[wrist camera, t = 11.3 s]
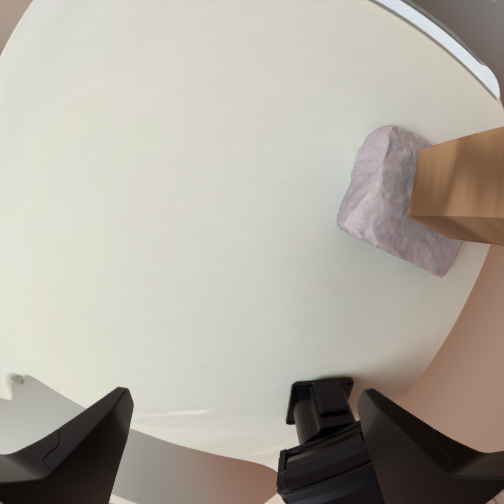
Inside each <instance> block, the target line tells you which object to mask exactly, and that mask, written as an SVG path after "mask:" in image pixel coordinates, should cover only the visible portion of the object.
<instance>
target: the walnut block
mask: <svg viewBox="0 0 504 504" xmlns="http://www.w3.org/2000/svg"><path fill="white" fill-rule="evenodd" d="M406 216H408V217H410V218H412V219H414V220H416V221H418V222H420V223H422V224H424V225H426V226H428V227H429V228H431V229H433V230H435V231H437V232H438V233H440V234H442V235H444V236H446V237H447V238H449V239H456V240H464V241H472V242H480V243H488V244H495V245H502V246H504V127H500V128H496V129H492V130H488V131H484V132H481V133H477V134H473V135H469V136H466V137H462V138H458V139H455V140H451V141H448V142H444V143H441V144H437V145H434V146H431V147H427V148H424V149H421V150H418V157H417V163H416V170H415V176H414V181H413V187H412V192H411V197H410V201H409V206H408V211H407V215H406Z"/></svg>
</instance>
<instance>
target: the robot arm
mask: <svg viewBox="0 0 504 504" xmlns="http://www.w3.org/2000/svg"><path fill="white" fill-rule="evenodd" d="M348 382H349V383H348ZM353 383H354V381H353V379H352V378H343V379H334V380H324V381H312V382H298V383H294V384H292V386H291V391H290V398H289V404H288V410H287V416H286V424H288V425H293V424H296V429H297V434H298V439H299V444H300V445H299V446H296V447H293V448H290V449H287V450H286V449H285V450H282V451H280V458H279V465H278V476H277V488H278V489H277V492H278V494H279V495H281V497H282V499H283V500H284V502H285V503H286V504H504V451H500V452H493V453H483V452H479V451H477V450H474V449H472V448H470V447H468V446H466V445H463V444H461V443H459V442H457V441H455V440H453V439H451V438H449V437H447V436H445V435H444V434H442V433H440V432H439V431H437V430H436V429H433V428H432V427H431V426H429V425H427V424H426V423H425V422H423V421H421V420H420V419H418V418H417V417H415V416H414V415H412V414H411V413H409V412H408V411H406V410H405V409H403V408H402V407H400V406H399V405H397V404H396V403H394V402H393V401H391V400H390V399H388V398H387V397H385V396H384V395H382V394H381V393H380V392H378V391H377V390H375V389H373V388H369V389H364V390H363V391H362V393H361V396H360V398H359V401H358V404H357V408H358V413H359V417H360V420H359V421H357V422H356V420H355V418H354V415H353V413H352V411H351V408H350V405H349V403H348V399H349V396H350V393H351V390H352V387H353ZM296 387H297V388H296ZM133 407H134V403H133V400H132V397H131V394H130V391H129V389H128V388H124V387H117V388H116V389H114V390H113V391H112V392H110V393H109V394H107V395H106V396H105V397H103V398H102V399H100V400H99V401H97V402H96V403H95V404H93V405H92V406H90V407H89V408H87V409H86V410H85V411H83V412H82V413H80V414H79V415H77V416H76V417H74V418H73V419H72V420H70V421H69V422H67V423H66V424H64V425H63V426H62V427H60V428H59V429H57V430H55V431H54V432H52V433H51V434H49V435H47V436H46V437H44V438H43V439H41V440H39V441H37V442H35V443H33V444H31V445H29V446H27V447H25V448H23V449H21V450H19V451H17V452H14V453H11V454H6V455H1V454H0V504H108V503H109V500H110V496H111V492H112V489H113V485H114V482H115V478H116V474H117V471H118V468H119V464H120V461H121V458H122V454H123V451H124V448H125V445H126V442H127V438H128V433H129V428H130V423H131V418H132V413H133Z"/></svg>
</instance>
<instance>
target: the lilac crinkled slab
mask: <svg viewBox="0 0 504 504" xmlns="http://www.w3.org/2000/svg"><path fill="white" fill-rule="evenodd" d="M427 147H431V145H430V144H429V143H428V142H427V141H426V140H424V139H422V138H421V137H418V136H415V135H412V133H411V132H407V131H405V130H403V129H401V128H399V127H397V126H394V125H393V126H391V125H390V126H384V127H381V128H379V129H377V130H375V131H373V132H372V133H371V134H369V135H368V136H367V138H366V139H365V141H364V143H363V145H362V147H361V148H360V149H359V150H358V153H357V155H356V157H355V163H354V168H353V171H352V173H351V184H350V186H349V188H348V190H347V192H346V195H345V196H344V198H343V201H342V204H341V207H340V211H339V214H338V219H337V223H338V226H339V227H340V228H341V229H343V230H345V231H346V232H348V233H349V234H351V235H353V236H355V237H357V238H359V239H361V240H363V241H365V242H368V243H370V244H372V245H374V246H376V247H378V248H380V249H382V250H385V251H387V252H389V253H391V254H393V255H395V256H398V257H400V258H402V259H404V260H407V261H409V262H411V263H413V264H415V265H417V266H419V267H421V268H423V269H425V270H427V271H429V272H430V273H432V274H434V275H436V276H438V277H440V278H441V277H443V276H444V275H445V274H446V272H447V271H448V269H449V268H450V267H451V265H452V263H453V260H454V259H455V257H456V254H457V251H458V249H459V247H460V245H461V243H462V240H456V239H449V238H447V237H446V236H444V235H442V234H440V233H438V232H437V231H435V230H433V229H431V228H429V227H428V226H426V225H424V224H422V223H420V222H418V221H416V220H414V219H412V218H410V217H408V216H406V215H407V211H408V206H409V201H410V197H411V192H412V187H413V181H414V176H415V170H416V163H417V157H418V150H421V149H424V148H427Z"/></svg>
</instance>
